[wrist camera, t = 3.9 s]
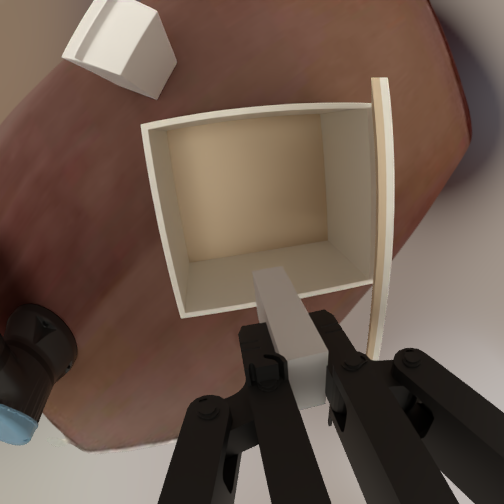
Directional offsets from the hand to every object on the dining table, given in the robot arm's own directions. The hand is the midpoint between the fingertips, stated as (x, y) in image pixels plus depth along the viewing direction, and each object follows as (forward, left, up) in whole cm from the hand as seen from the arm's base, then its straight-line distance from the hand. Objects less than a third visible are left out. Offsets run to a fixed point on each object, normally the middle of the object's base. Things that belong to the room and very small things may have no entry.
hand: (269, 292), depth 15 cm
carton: (+3, 0, -29) cm, 29 cm away
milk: (-9, +18, -29) cm, 35 cm away
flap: (+9, 0, -5) cm, 11 cm away
